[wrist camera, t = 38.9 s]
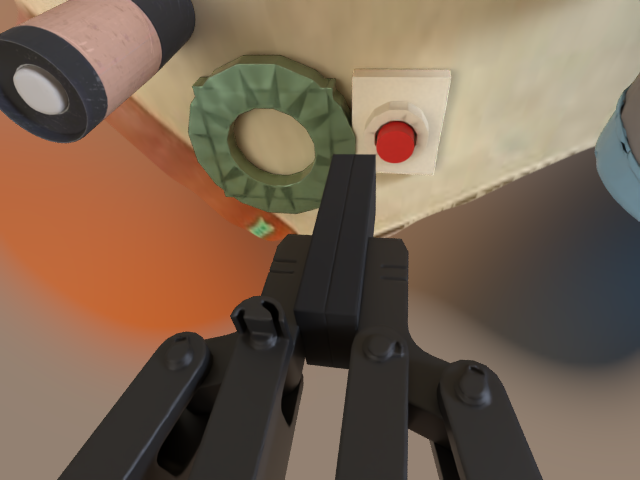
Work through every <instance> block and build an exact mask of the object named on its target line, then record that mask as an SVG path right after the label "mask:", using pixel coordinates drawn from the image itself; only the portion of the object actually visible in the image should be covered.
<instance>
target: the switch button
mask: <svg viewBox="0 0 640 480" xmlns="http://www.w3.org/2000/svg"><path fill="white" fill-rule="evenodd" d="M376 150H377V153H378V155H379V157H380V158H381V159H383V160H384V161H386V162H389V163H401V162H403V161H405V160H407V159H408V158H409V157H410V156H411V155H412V153H413V151H414V132H413V130H412V128H411V127H410V126H409V125H407V124H406V123H404V122H400V121H393V122H389V123H387V124H385V125H384V126H383V127H382V128H381V129H380V130H379V132H378V136H377V145H376Z"/></svg>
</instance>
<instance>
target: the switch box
mask: <svg viewBox="0 0 640 480" xmlns="http://www.w3.org/2000/svg"><path fill="white" fill-rule="evenodd" d="M450 83H451V72H450V70H418V69H354V71H353V75H352V129H353V131H354V133H355V136H356V154H376V173H393V174H415V175H433V174H434V168H435V163H436V158H437V152H438V147H439V142H440V136H441V131H442V126H443V121H444V115H445V110H446V105H447V99H448V94H449V89H450ZM393 121H400V122H404V123H406V124H407V125H409V126H410V127H411V128H412V130H413V132H414V151H413V153H412V155H411V156H410V157H409V158H408V159H407V160H405V161H403V162H401V163H389V162H386V161H384V160H383V159H381V158H380V157H379V155H378V153H377V150H376V145H377V136H378V132H379V130H380V129H381V128H382V127H383V126H384V125H385V124H387V123H389V122H393Z"/></svg>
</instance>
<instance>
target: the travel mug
mask: <svg viewBox="0 0 640 480" xmlns="http://www.w3.org/2000/svg"><path fill="white" fill-rule="evenodd" d="M194 26H195V14H194V9H193V5H192V3H191V0H69V1H67V2H64V3H62V4H60V5H58V6H56V7H54V8H52V9H50V10H48V11H46V12H44V13H42V14H40V15H38V16H36V17H34V18H32V19H30V20H27V21H25V22H23V23H21V24H19V25H17V26H15V27H13V28H11V29H9V30H7V31H5V32H3V33H1V34H0V110H1V111H2V112H3V113H4V114H5V115H7V116H8V117H9V118H10V119H11V120H13V121H14V122H15V123H16V124H17V125H19V126H20V127H22V128H23V129H25V130H27V131H28V132H30V133H32V134H34V135H36V136H38V137H40V138H43V139H45V140H48V141H52V142H57V143H71V142H75V141H78V140H80V139H81V138H83V137H85V136H86V135H87V134H88V133H89V132H90V131H91V130H92V129H94V128H95V127H96V126H97V125H98V124H99V123H100V122H101V121H103V120H104V119H105V118H106V117H107V116H108V115H110V114H111V113H112V112H113V111H114V110H115V109H116V108H117V107H119V106H120V105H121V104H122V103H123V102H124V101H125V100H127V99H128V98H129V97H130V96H131V95H132V94H133V93H135V92H136V91H137V90H138V89H139V88H140V87H141V86H142V85H144V84H145V83H146V82H147V81H148V80H149V79H150V78H152V77H153V76H154V75H155V74H156V73H157V72H158V71H159V70H160V69H161V68H162V67H163V66H164V65H165V64H166V63H167V62H168V61H169V60H170V59H171V58H172V56H173V55H174V54H175V53H176V52H177V51H178V50H179V49H180V48H181V47H182V46H183V45H184V44H185V43H186V42H187V41H188V40H189V38H190V37H191V35H192V33H193V30H194Z"/></svg>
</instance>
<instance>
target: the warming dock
mask: <svg viewBox="0 0 640 480" xmlns="http://www.w3.org/2000/svg"><path fill="white" fill-rule="evenodd" d="M192 88H193V91H194V94H195V98H194V99H193V101H192V102H191V105H190V116H189V127H188V134H189V137H190V140H191V143H192V146H193V149H194V152H195V154H196V157H197V160H198V162H199V163H200V165H201V166H202V167H203V169H204V170H205V171H206V172H207V174H208V175H209V176H210V177H211V179H212V180H213V181H214V183H215V184H216V185H217V186H219V187H220V188H222V189H223V190H224V193H225V196H226V197H234V198H236V199H237V200H239V201H240V202H242V203H244V204H247V205H250V206H253V207H255V208H258V209H261V210H264V211H266V212H273V213H289V214H298V213H302V212H306V211H310V210H313V209H317V208H319V207H320V203H321V199H322V195H323V191H324V187H325V184H326V180H327V176H328V172H329V168H330V164H331V160H332V156H333V154H356V136H355V133H354V131H353V129H352V114H351V112H350V110H349V108H348V105H347V103H346V101H345V98H344V97H343V96H342V95H341V94H340V93H339V92H338V91H337V90H336V79H335V78H330V79H329V78H324V77H323V76H322V75H321V74H320V73H319V72H318V71H316V70H315V69H312V68H310V67H307V66H305V65H303V64H300V63H298V62H296V61H293V60H291V59H289V58H286V57H284V56H281V55H243V56H241V57H239V58H237V59H235V60H233V61H231V62H229V63H227V64H225V65H223V66H221V67H219V68H217V69H215V70H214V71H213V73H212V74H211V75H210V76H209V77H200V78H199V79H198V80H197V81H196V83H195V84H194V85H193V86H192ZM254 108H264V109H275V110H278V111H280V112H283V113H285V114H288V115H290V116H292V117H293V118H294V119H296V120H297V121H298V122H299V123H300V124H301V125H302V126H303V127H305V128H306V130H307V132H308V133H309V135H310V137H311V139H312V141H313V143H314V148H315V159H314V161H313V163H312V164H311V165H309V166H308V167H307V168H306V169H305V170H304V171H301V172H298V173H295V174H292V175H274V174H271V173H269V172H266V171H263V170H261V169H258V168H257V167H256V166H254V165H253V164H252V163H251V162H249V161H248V160H247V159H246V158H245V157H244V155H243V154H242V152H241V151H240V149H239V148H238V146H237V144H236V140H235V136H234V132H233V130H234V125H235V120H236V118H237V117H238V116H239V115H240V114H242V113H245V112H247V111H250V110H252V109H254Z"/></svg>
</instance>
